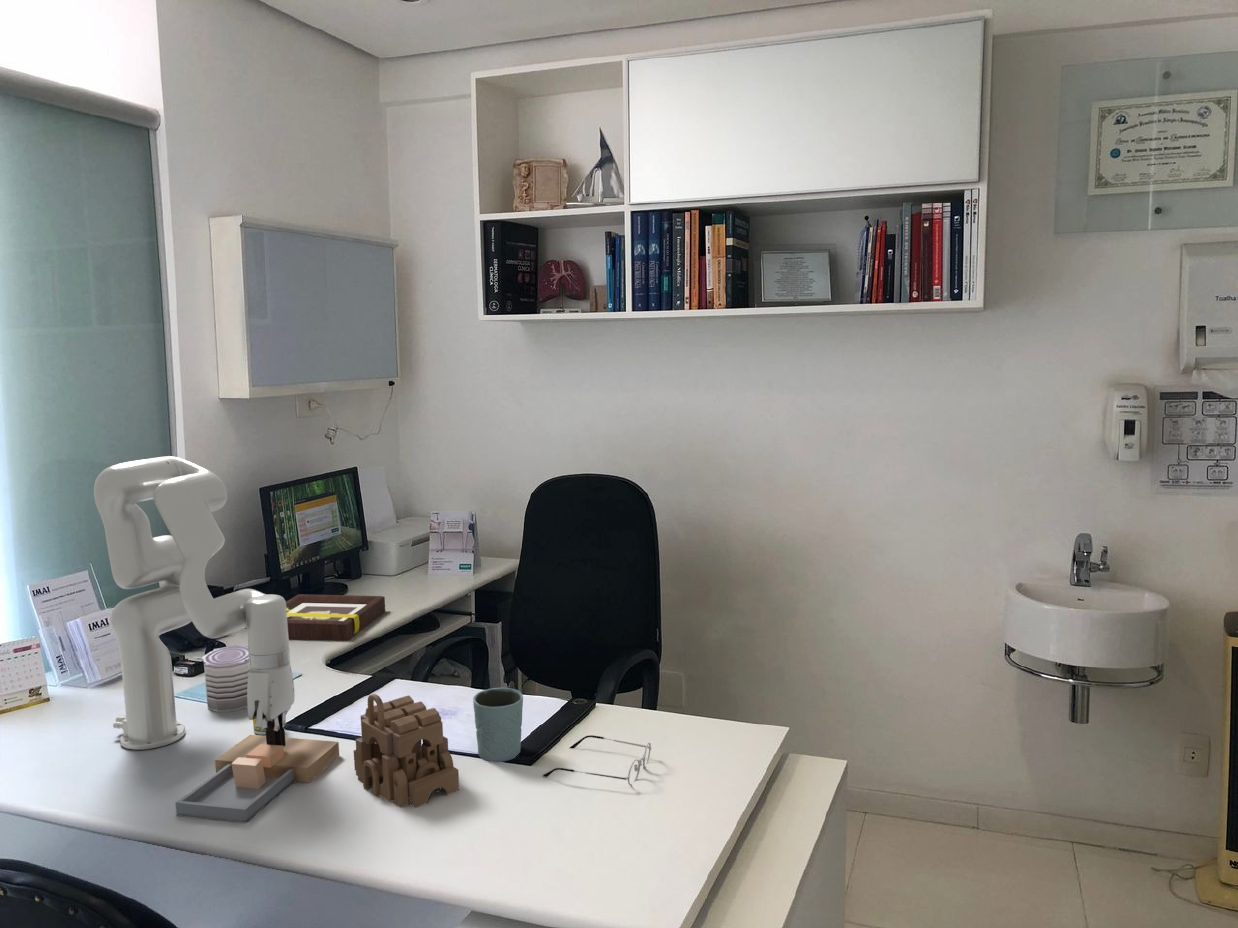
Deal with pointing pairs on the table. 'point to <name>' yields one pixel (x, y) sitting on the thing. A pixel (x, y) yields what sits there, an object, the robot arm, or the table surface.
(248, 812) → the tray
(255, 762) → the tile front
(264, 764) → the tile rear
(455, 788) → the wooden puzzle
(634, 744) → the eyeglasses
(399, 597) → the table surface
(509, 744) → the green cup
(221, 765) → the board
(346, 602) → the picture frame
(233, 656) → the can
